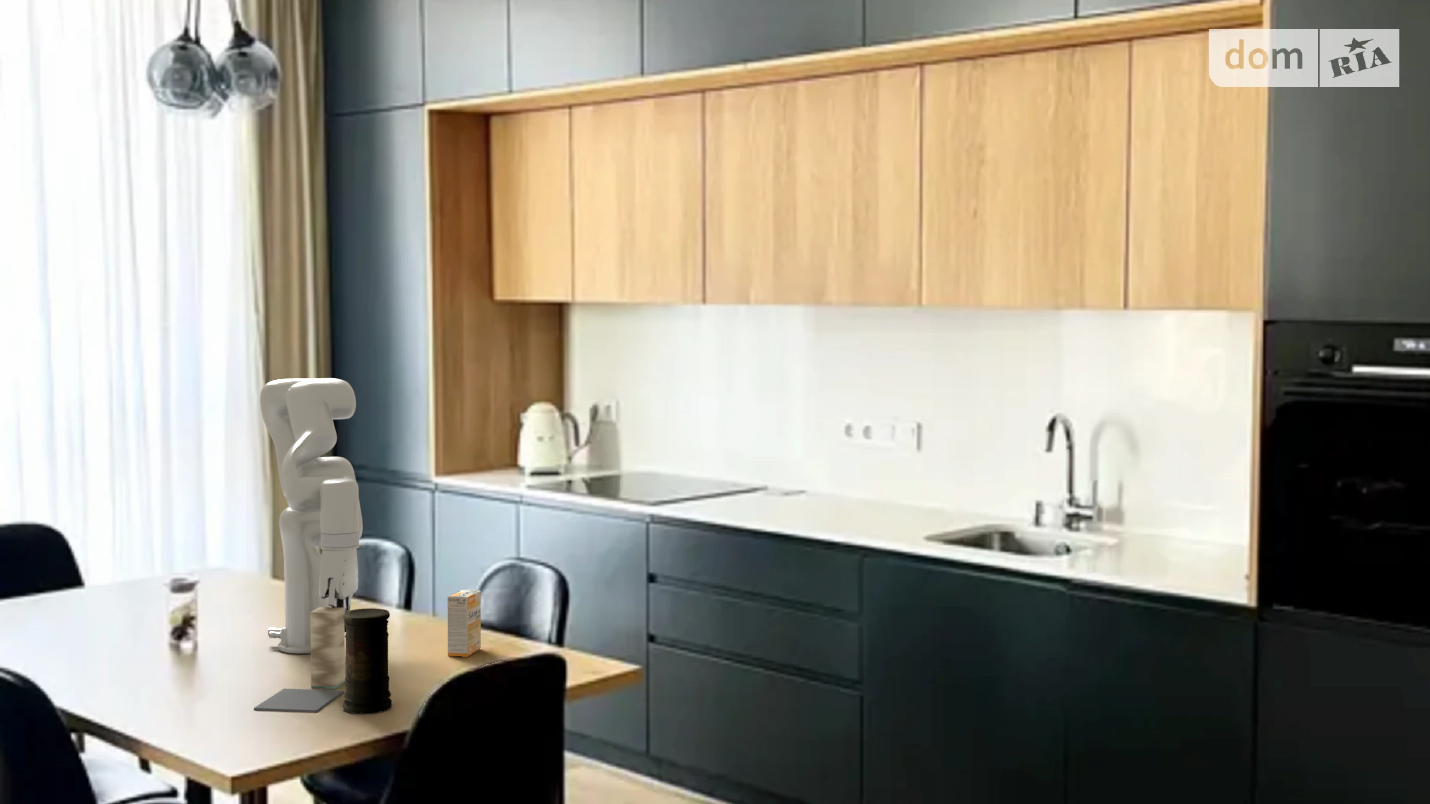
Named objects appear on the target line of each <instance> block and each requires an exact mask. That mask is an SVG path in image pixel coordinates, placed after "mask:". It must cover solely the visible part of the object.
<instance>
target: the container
mask: <svg viewBox="0 0 1430 804" xmlns="http://www.w3.org/2000/svg"><path fill="white" fill-rule="evenodd" d="M390 615H391V613H390V610H388V609H382V608H377V607H375V608H373V607H372V608H368V607H367V608H366V607H365V608H357V609H350V611H347V612H345V613H344V615H343V619H344V620H345V621H346V622H345V627H346V632H345V683H344V684H345V688H344V689H345V690H344V693H343V694H342V695H343V696H342V697H343V699H344V700H343V702H342V705H341V706H342V709H343V710H344V711H345V712H347V713H351V714H354V715H355V714H357V715H359V714H360V715H369V714H377V713H382V712H386V711H388V710H390V709H391V708H392V705H393V701H392V699H391V696H392V692H391V691H390V676H389V632H388V629H389V628H388V625H389V619H390V617H391V616H390Z"/></svg>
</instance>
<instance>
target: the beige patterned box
mask: <svg viewBox="0 0 1430 804" xmlns="http://www.w3.org/2000/svg"><path fill="white" fill-rule="evenodd" d="M343 615H344V608H336V607H319V608H317V609H315V610H313V611H312V612H310V633H311V653H310V682H311V683H310V685H311V686H310V689H321V690H337V689H339V687H341V686H342V685H344V684H345V678H346V638H345V635H346V632H345V629H344V619H343Z"/></svg>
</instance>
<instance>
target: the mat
mask: <svg viewBox="0 0 1430 804" xmlns="http://www.w3.org/2000/svg"><path fill="white" fill-rule="evenodd" d="M344 693H345V690H343V689H342V690H337V689H314V688H310V689H309V688H308V689H307V688H282V689H280V691H278V692H276V693H275V694H273V695H271V696H270V697H269V698H267V699H265V700H263V701H262V702H260V703H259V704H258V705H256V706H255V707H253V710H254V711H265V712H266V711H271V712H272V711H273V712H292V713H293V712H295V713H296V712H299V713H318V712H319V711H321V710H323V708H324V707H326V706H327V705H329V704H330V703H332V702H333V701H335V700H336V699H338V698H339V697H340V696H341V695H344Z"/></svg>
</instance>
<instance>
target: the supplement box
mask: <svg viewBox="0 0 1430 804" xmlns="http://www.w3.org/2000/svg"><path fill="white" fill-rule="evenodd" d="M481 598H482V591H481V590H478V589H461V590H458V591H456V592H454V593H452V594H450V595H447V656H448V657H453V656H462V657H461V658H469V656H471V655H472V654H474V653H476V652H477V651H479V650H481V649H480V648H482V647H481V646H482V645H481V644H482V643H481V642H482V641H481V640H482V635H481V634H482V633H481V631H482V630H481V629H482V628H481V627H482V625H481V624H482V623H481V621H482V620H481V619H482V618H481V617H482V615H481V614H482V611H481V610H482V609H481V605H482V604H481V603H482V601H481Z"/></svg>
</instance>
